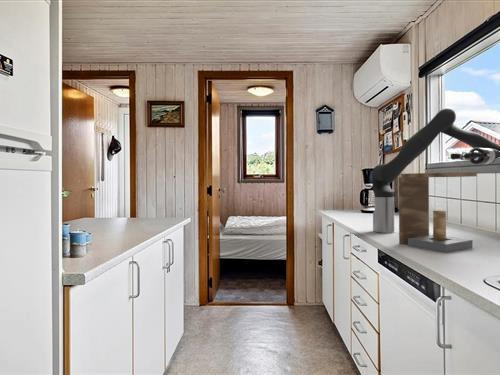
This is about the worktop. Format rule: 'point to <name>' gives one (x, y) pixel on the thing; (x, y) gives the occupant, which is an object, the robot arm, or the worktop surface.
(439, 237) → the wooden peg
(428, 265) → the worktop surface
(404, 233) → the wooden l bracket
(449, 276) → the worktop surface
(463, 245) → the socket plate
